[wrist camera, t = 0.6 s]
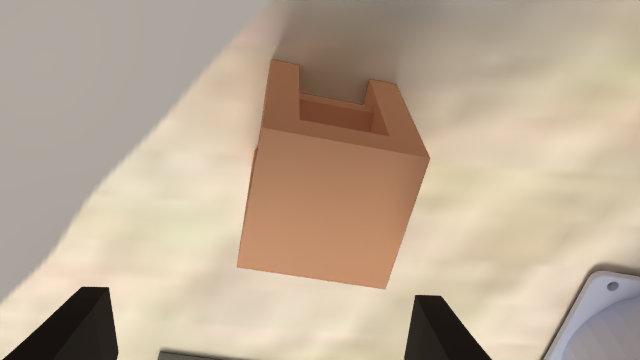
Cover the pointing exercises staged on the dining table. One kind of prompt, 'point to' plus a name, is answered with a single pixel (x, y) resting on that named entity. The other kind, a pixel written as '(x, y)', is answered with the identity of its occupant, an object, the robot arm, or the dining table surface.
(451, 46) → the dining table surface
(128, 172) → the dining table surface
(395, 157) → the notched tan cube
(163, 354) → the rubber mat
